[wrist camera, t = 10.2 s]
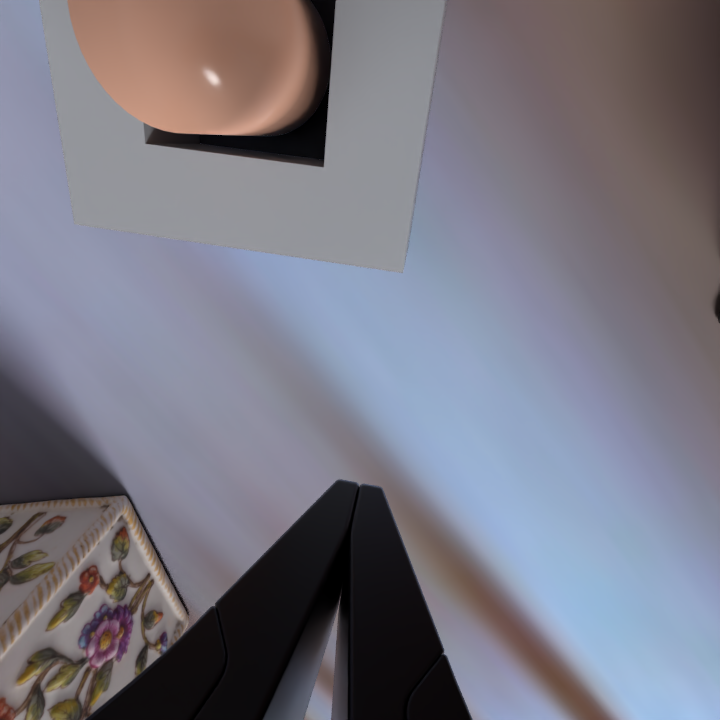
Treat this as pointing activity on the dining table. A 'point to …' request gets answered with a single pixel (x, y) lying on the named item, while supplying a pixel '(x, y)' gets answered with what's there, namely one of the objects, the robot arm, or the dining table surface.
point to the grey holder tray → (263, 169)
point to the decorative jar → (78, 606)
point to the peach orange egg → (208, 62)
